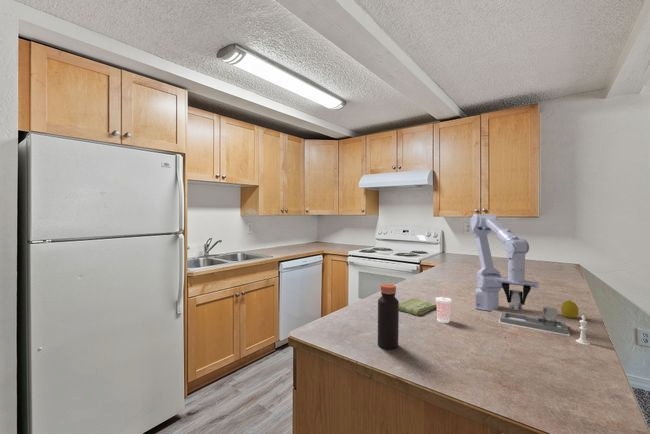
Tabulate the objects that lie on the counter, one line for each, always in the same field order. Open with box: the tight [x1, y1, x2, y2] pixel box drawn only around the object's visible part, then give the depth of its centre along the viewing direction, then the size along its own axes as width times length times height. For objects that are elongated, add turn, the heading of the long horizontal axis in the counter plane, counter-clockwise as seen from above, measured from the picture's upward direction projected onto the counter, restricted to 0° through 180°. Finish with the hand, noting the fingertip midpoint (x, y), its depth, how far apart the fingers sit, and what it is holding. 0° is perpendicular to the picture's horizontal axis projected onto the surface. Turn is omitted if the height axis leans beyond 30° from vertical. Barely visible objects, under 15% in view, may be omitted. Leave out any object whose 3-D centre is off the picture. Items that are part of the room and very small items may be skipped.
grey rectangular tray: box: [497, 310, 571, 337], centre depth 117 cm, size 22×13×2 cm, turn 56°
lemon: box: [560, 299, 579, 319], centre depth 124 cm, size 6×6×8 cm
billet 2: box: [542, 306, 558, 327], centre depth 114 cm, size 4×4×7 cm
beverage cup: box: [435, 286, 452, 324], centre depth 122 cm, size 6×6×14 cm
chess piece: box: [575, 314, 591, 346], centre depth 101 cm, size 5×5×10 cm
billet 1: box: [508, 289, 523, 311], centre depth 120 cm, size 4×4×7 cm
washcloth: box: [399, 297, 437, 317], centre depth 137 cm, size 13×18×3 cm
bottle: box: [377, 283, 400, 350], centre depth 100 cm, size 7×7×20 cm
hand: (515, 303), depth 120 cm, fingers closed on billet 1, 4 cm apart
